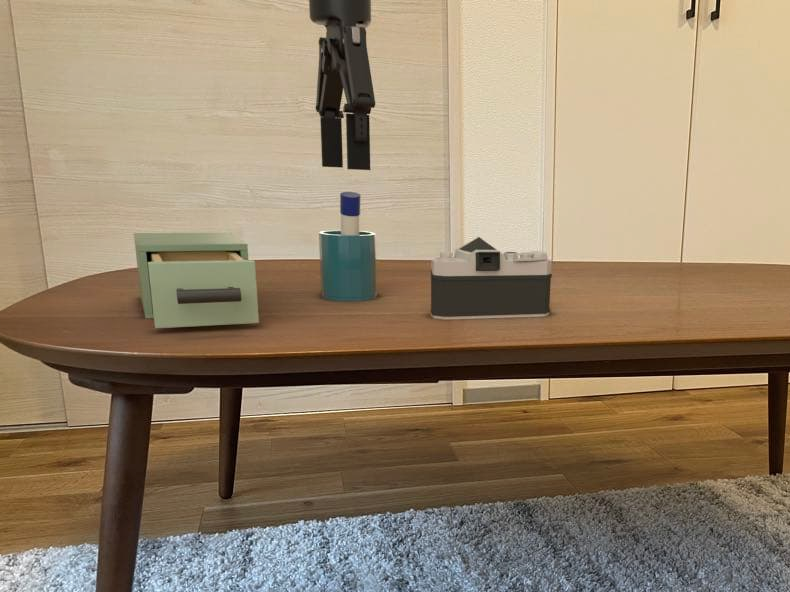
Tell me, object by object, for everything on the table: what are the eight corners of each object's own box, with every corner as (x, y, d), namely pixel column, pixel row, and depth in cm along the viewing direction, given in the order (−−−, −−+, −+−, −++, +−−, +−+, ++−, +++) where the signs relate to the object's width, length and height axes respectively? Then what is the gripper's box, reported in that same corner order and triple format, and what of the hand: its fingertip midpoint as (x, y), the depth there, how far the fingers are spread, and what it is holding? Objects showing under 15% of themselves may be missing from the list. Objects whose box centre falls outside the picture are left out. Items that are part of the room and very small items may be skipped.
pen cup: (329, 304, 103) (326, 235, 101) (316, 295, 109) (313, 230, 107) (383, 302, 107) (382, 235, 104) (368, 293, 113) (366, 230, 110)
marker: (342, 295, 106) (343, 197, 99) (337, 288, 108) (338, 191, 101) (361, 294, 107) (363, 197, 101) (356, 287, 109) (357, 191, 103)
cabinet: (252, 315, 94) (247, 243, 92) (145, 320, 89) (137, 244, 86) (236, 297, 106) (231, 232, 103) (141, 300, 100) (133, 233, 98)
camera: (533, 307, 108) (536, 233, 105) (557, 319, 100) (561, 240, 97) (420, 310, 102) (420, 232, 99) (436, 323, 94) (436, 239, 91)
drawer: (265, 330, 82) (261, 266, 80) (157, 337, 78) (150, 268, 76) (242, 303, 96) (238, 248, 94) (149, 307, 92) (143, 249, 90)
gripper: (400, -24, 88) (402, 172, 94) (344, 8, 109) (348, 167, 115) (334, -35, 84) (340, 169, 91) (289, 1, 105) (296, 165, 112)
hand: (345, 168), depth 103 cm, fingers open, 13 cm apart
